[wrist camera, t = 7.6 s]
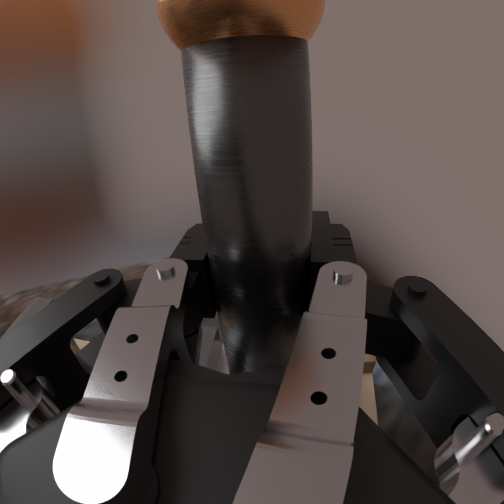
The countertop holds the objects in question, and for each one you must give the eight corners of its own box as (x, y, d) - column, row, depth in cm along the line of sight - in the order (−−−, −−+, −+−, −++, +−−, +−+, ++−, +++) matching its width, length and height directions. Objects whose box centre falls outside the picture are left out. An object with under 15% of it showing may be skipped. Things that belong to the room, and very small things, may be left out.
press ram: (177, 482, 12) (-11, -42, 2) (211, 368, 19) (148, -3, 9) (324, 498, 11) (392, -146, 1) (326, 374, 18) (339, -24, 8)
